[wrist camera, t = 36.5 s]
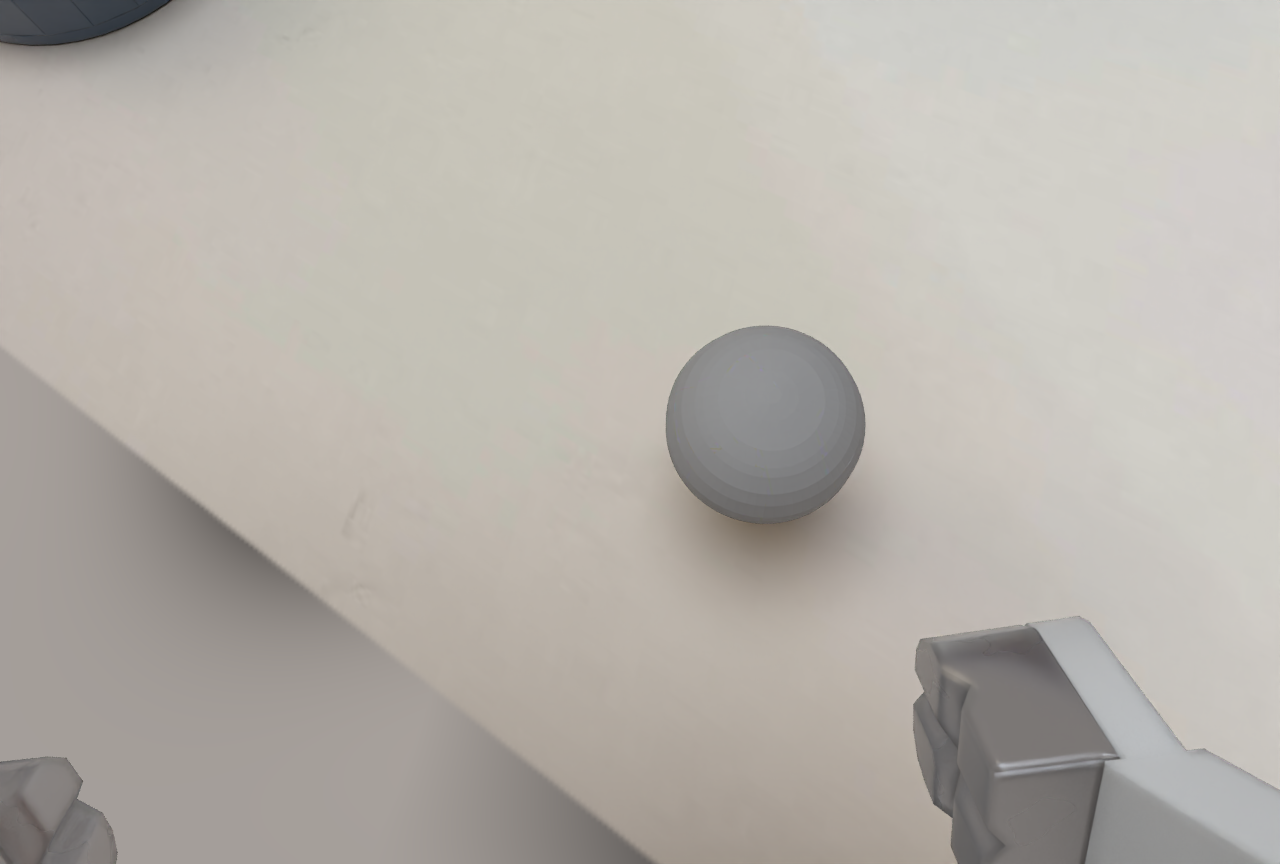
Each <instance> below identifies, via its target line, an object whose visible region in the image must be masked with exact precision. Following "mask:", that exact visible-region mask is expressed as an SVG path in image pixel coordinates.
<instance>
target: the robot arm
mask: <svg viewBox="0 0 1280 864" xmlns="http://www.w3.org/2000/svg"><path fill="white" fill-rule="evenodd" d="M915 671H916V674H917V676H918V678H919V680H920V683H921V685H922V687H923V689H924V693H923V694H922V695H921V696H920V697H919V698H918V699H917V701H916V702H915V703H914V704H913V731H914V738H915V744H916V751H917V757H918V761H919V764H920V768H921V771H922V775H923V778H924V781H925V784H926V786H927V789H928V791H929V794H930V796H931V799H932V801H933V804H934V805H936V806H937V807H938V808H940V809H941V810H942V811H944V812H945V813H946V814H948V815H949V816H951V817H952V818H953V820H952V835H951V848H952V850H953V853H954V855H955V858H956V860H957V862H958V864H1280V790H1279V789H1277V788H1275V787H1273V786H1271V785H1270V784H1268V783H1266V782H1264V781H1262V780H1260V779H1259V778H1257V777H1255V776H1253V775H1251V774H1250V773H1248V772H1246V771H1244V770H1242V769H1240V768H1239V767H1237V766H1235V765H1233V764H1231V763H1230V762H1228V761H1226V760H1224V759H1222V758H1220V757H1219V756H1217V755H1215V754H1213V753H1211V752H1209V751H1208V750H1206V749H1195V750H1186V749H1185V748H1184V746H1183V745H1182V744H1181V742H1180V741H1179V740H1178V738H1177V737H1176V736H1175V734H1174V733H1173V732H1172V730H1171V729H1170V728H1169V726H1168V725H1167V724H1166V722H1165V721H1164V720H1163V718H1162V717H1161V716H1160V714H1159V713H1158V712H1157V710H1156V709H1155V708H1154V706H1153V705H1152V704H1151V702H1150V701H1149V700H1148V698H1147V697H1146V696H1145V694H1144V693H1143V692H1142V690H1141V689H1140V688H1139V686H1138V685H1137V684H1136V682H1135V681H1134V680H1133V678H1132V677H1131V676H1130V674H1129V673H1128V672H1127V670H1126V669H1125V668H1124V666H1123V665H1122V664H1121V662H1120V661H1119V660H1118V658H1117V657H1116V656H1115V654H1114V653H1113V652H1112V650H1111V649H1110V648H1109V646H1108V645H1107V644H1106V642H1105V641H1104V640H1103V638H1102V637H1101V636H1100V634H1099V633H1098V632H1097V631H1096V629H1095V628H1094V627H1093V625H1092V624H1091V623H1090V622H1089V621H1087V620H1085V619H1084V618H1082V617H1080V616H1076V617H1069V618H1062V619H1055V620H1048V621H1041V622H1034V623H1028V624H1026V625H1024V626H1023V625H1015V626H1008V627H1001V628H994V629H987V630H980V631H973V632H966V633H959V634H952V635H945V636H938V637H931V638H924V639H920V641H919V644H918V646H917V649H916V660H915ZM82 783H83V780H82V779H81V778H80V776H79V775H78V773H77V772H76V771H75V769H74V768H73V766H72V765H71V763H70V762H69V761H68V760H67V758H61V757H40V758H31V759H22V760H12V761H3V762H0V864H116V860H117V848H116V844H115V839H114V834H113V830H112V828H111V826H110V825H109V823H108V821H107V820H106V818H105V816H104V814H103V813H102V812H100V811H98V810H97V809H95V808H93V807H91V806H89V805H87V804H85V803H84V802H82V801H79V800H78V799H77V797H78V794H79V791H80V789H81V786H82Z"/></svg>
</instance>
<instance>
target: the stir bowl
mask: <svg viewBox="0 0 1280 864" xmlns="http://www.w3.org/2000/svg"><path fill="white" fill-rule="evenodd" d="M168 1H170V0H0V41H3V42H8V43H15V44H27V45H49V44H61V43H68V42H75V41H81V40H85V39H88V38H92V37H96V36H100V35H103V34H106V33H109V32H111V31H114V30H117V29H119V28H122V27H125V26H127V25H129V24H131V23H133V22H135V21H137V20H139V19H141V18H143V17H145V16H147V15H148V14H150V13H151V12H153V11H155V10H156V9H158V8H159V7H161V6H162V5H164V4H166V3H167V2H168Z"/></svg>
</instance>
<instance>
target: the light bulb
mask: <svg viewBox="0 0 1280 864" xmlns="http://www.w3.org/2000/svg"><path fill="white" fill-rule="evenodd" d="M864 436H865V413H864V407H863V402H862V399H861V395H860V393H859V390H858V387H857V385H856V383H855V381H854V379H853V378H852V376H851V374H850V373H849V371H848V369H847V368H846V366H845V365H844V364H843V362H842V361H841V360H840V359H839V358H838V357H837V356H836V355H835V354H834V353H833V352H832V351H831V350H830V349H829V348H828V347H826V346H825V345H824V344H822V343H821V342H819V341H818V340H816V339H814V338H813V337H811V336H808V335H806V334H804V333H802V332H799V331H796V330H793V329H789V328H784V327H778V326H753V327H747V328H742V329H739V330H735V331H732V332H730V333H727V334H725V335H723V336H721V337H719V338H717V339H715V340H713V341H712V342H710V343H709V344H707V345H705V346H704V347H703V348H702V349H700V350H699V351H698V352H697V353H696V354H695V355H694V356H693V357H691V359H690V360H689V361H688V362H687V363H686V364H685V366H684V367H683V369H682V370H681V372H680V373H679V375H678V377H677V378H676V380H675V383H674V385H673V387H672V390H671V393H670V396H669V400H668V405H667V413H666V438H667V445H668V450H669V453H670V457H671V460H672V462H673V464H674V467H675V469H676V471H677V473H678V474H679V476H680V478H681V479H682V481H683V482H684V484H685V485H686V486H687V487H688V488H689V490H690V491H691V492H692V493H693V494H694V495H695V496H696V497H697V498H698V499H700V500H701V501H702V502H703V503H705V504H706V505H707V506H709V507H710V508H712V509H713V510H715V511H717V512H719V513H721V514H723V515H726V516H728V517H731V518H734V519H737V520H740V521H745V522H750V523H759V524H771V523H781V522H786V521H791V520H794V519H797V518H800V517H803V516H805V515H807V514H809V513H811V512H813V511H815V510H817V509H818V508H820V507H821V506H823V505H824V504H825V503H827V502H828V501H829V500H830V499H831V498H832V497H833V496H834V495H835V494H836V493H837V492H838V491H839V490H840V489H841V488H842V486H843V485H844V484H845V482H846V481H847V479H848V477H849V476H850V474H851V473H852V471H853V470H854V468H855V466H856V464H857V462H858V459H859V456H860V454H861V451H862V447H863V443H864Z"/></svg>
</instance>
